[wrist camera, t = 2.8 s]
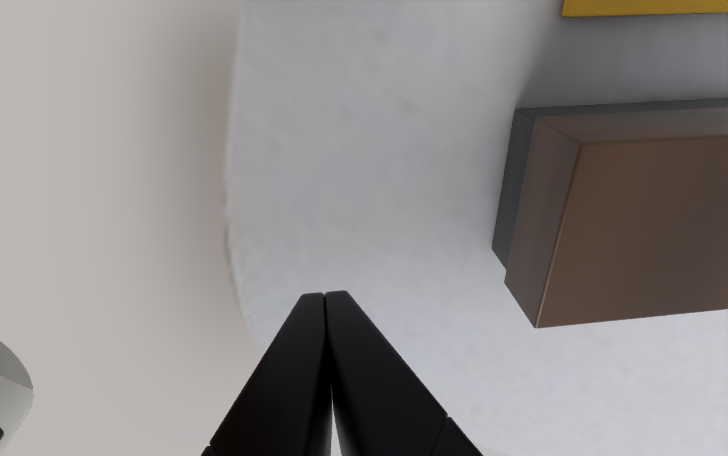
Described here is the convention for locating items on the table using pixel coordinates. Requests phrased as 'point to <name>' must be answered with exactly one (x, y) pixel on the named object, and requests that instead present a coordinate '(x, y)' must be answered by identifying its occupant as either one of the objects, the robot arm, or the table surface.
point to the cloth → (641, 7)
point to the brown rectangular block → (616, 211)
